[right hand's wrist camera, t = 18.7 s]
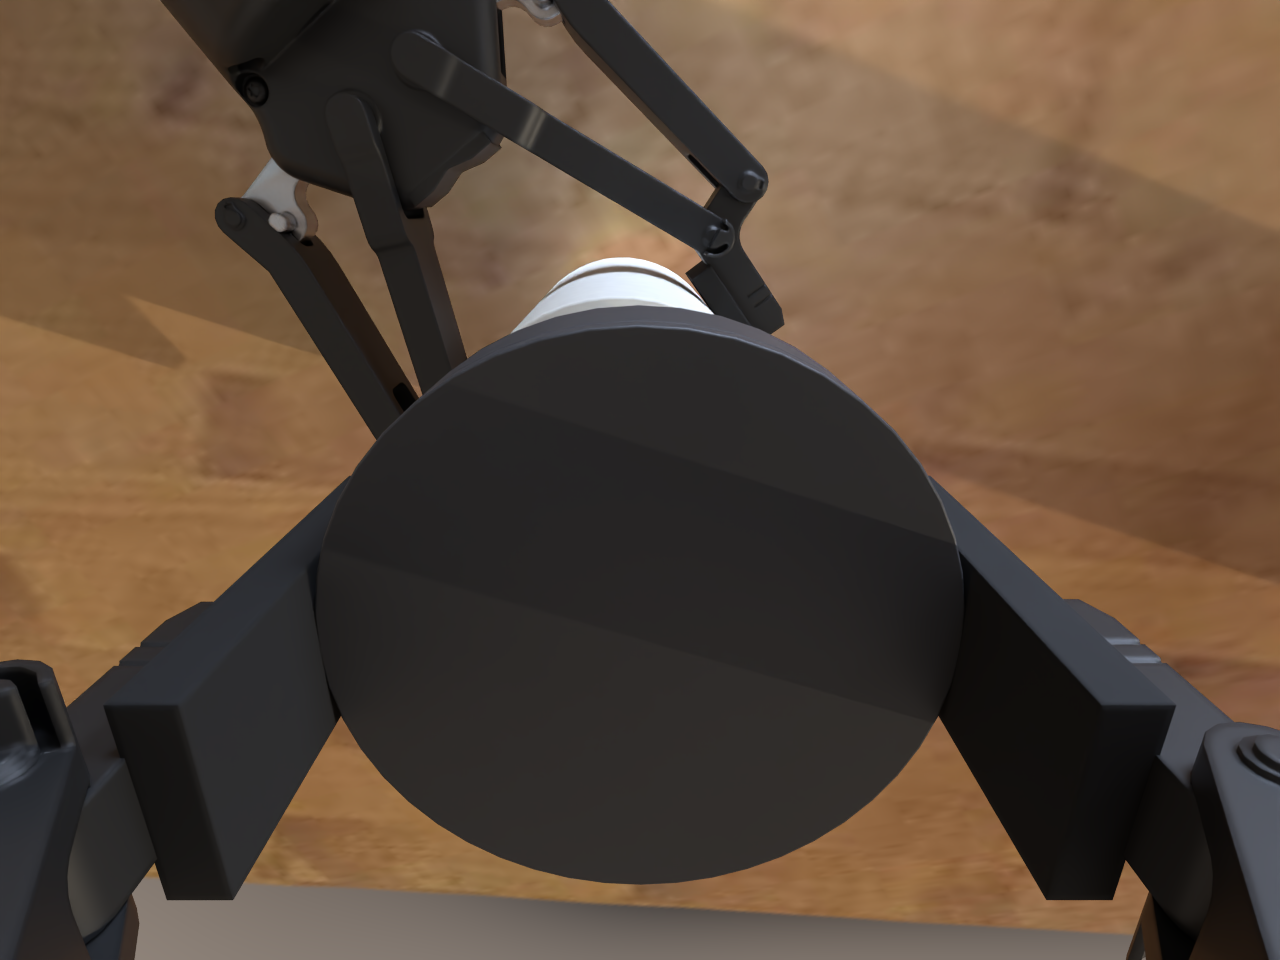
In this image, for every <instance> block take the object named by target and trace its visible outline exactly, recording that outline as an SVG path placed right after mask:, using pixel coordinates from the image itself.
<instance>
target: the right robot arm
mask: <svg viewBox="0 0 1280 960" xmlns="http://www.w3.org/2000/svg"><path fill="white" fill-rule="evenodd" d="M350 477H351V476H349V477H348V478H347V479H346V480H344V481H343V482H342V483H341V484H340V485H339V486H338V487H337V488H336V489H335V490H334V491H333V492H332V493H330V494H329V495H328V496H327V497H326V498H325V499H324V500H323V501H322V502H321V503H320V504H319V505H318V506H316V507H315V508H314V509H313V510H312V511H311V512H310V513H309V514H308V515H307V516H306V517H305V518H304V519H303V520H301V521H300V522H299V523H298V524H297V525H296V526H295V527H294V528H293V529H292V530H291V531H290V532H289V533H287V534H286V535H285V536H284V537H283V538H282V539H281V540H280V541H279V542H278V543H277V544H276V545H275V546H273V547H272V548H271V549H270V550H269V551H268V552H267V553H266V554H265V555H264V556H263V557H262V558H261V559H259V560H258V561H257V562H256V563H255V564H254V565H253V566H252V567H251V568H250V569H249V570H248V571H247V572H246V573H244V574H243V575H242V576H241V577H240V578H239V579H238V580H237V581H236V582H235V583H234V584H233V585H232V586H230V587H229V588H228V589H227V590H226V591H225V592H224V593H223V594H222V595H221V596H220V597H219V598H218V599H216V600H215V601H214V602H200V603H198V604H196V605H194V606H192V607H190V608H189V609H187V610H185V611H183V612H181V613H179V614H177V615H175V616H174V617H172V618H170V619H168V620H166V621H165V622H164V623H163V624H161V625H160V626H159V627H158V628H157V629H156V630H155V631H153V632H152V633H151V634H150V635H149V636H148V637H147V638H145V639H144V640H143V641H142V642H141V645H140V647H135V648H134V649H133V650H132V651H131V652H129V653H128V654H127V655H126V656H125V657H124V658H123V659H121V660H120V661H119V662H120V664H119V666H113V667H112V668H111V669H110V670H109V671H108V672H107V673H105V674H104V675H103V676H102V677H101V678H100V679H99V680H97V681H96V682H95V683H94V684H93V685H92V686H91V687H89V688H88V689H87V690H86V691H85V692H84V693H83V694H81V695H80V696H79V697H78V698H77V699H76V700H75V701H73V702H72V703H71V704H70V705H69V706H68V707H67V708H66V706H65V703H64V700H63V697H62V694H61V692H60V689H59V686H58V683H57V680H56V677H55V674H54V672H53V669H52V668H51V667H49V666H48V665H46V664H44V663H42V662H41V661H32V660H18V659H17V660H10V661H3V662H0V960H134V958H135V951H136V943H137V936H138V929H139V919H138V913H137V908H136V905H135V902H134V899H133V896H132V892H133V891H134V890H135V888H136V887H137V886H138V884H139V883H140V882H141V880H142V879H143V878H144V876H145V875H146V874H147V872H148V871H149V870H150V868H151V867H152V865H153V864H154V863H155V865H156V868H157V871H158V874H159V877H160V880H161V883H162V886H163V889H164V893H165V895H166V899H167V900H233V899H234V897H235V896H236V894H237V892H238V891H239V889H240V887H241V886H242V884H243V882H244V880H245V879H246V877H247V875H248V874H249V872H250V870H251V869H252V867H253V865H254V863H255V862H256V860H257V858H258V857H259V855H260V853H261V851H262V850H263V848H264V846H265V845H266V843H267V841H268V840H269V838H270V836H271V834H272V833H273V831H274V829H275V828H276V826H277V824H278V822H279V821H280V819H281V817H282V816H283V814H284V812H285V810H286V809H287V807H288V805H289V804H290V802H291V800H292V799H293V797H294V795H295V793H296V792H297V790H298V788H299V787H300V785H301V783H302V781H303V780H304V778H305V776H306V775H307V773H308V771H309V770H310V768H311V766H312V764H313V763H314V761H315V759H316V758H317V756H318V754H319V752H320V751H321V749H322V747H323V746H324V744H325V742H326V740H327V739H328V737H329V735H330V734H331V732H332V730H333V729H334V727H335V725H336V723H337V722H338V720H339V718H340V717H341V714H340V711H339V709H338V707H337V705H336V702H335V700H334V698H333V695H332V693H331V691H330V688H329V686H328V682H327V679H326V675H325V670H324V665H323V661H322V656H321V651H320V645H319V639H318V634H317V628H316V621H315V593H316V575H317V569H318V564H319V559H320V554H321V549H322V544H323V539H324V536H325V533H326V531H327V528H328V525H329V522H330V520H331V517H332V514H333V511H334V509H335V506H336V503H337V501H338V499H339V497H340V495H341V494H342V492H343V490H344V488H345V486H346V485H347V483H348V481H349V479H350ZM928 477H929V479H930V480H931V482H932V484H933V486H934V487H935V489H936V491H937V493H938V494H939V496H940V498H941V500H942V502H943V505H944V508H945V510H946V513H947V516H948V518H949V521H950V524H951V526H952V529H953V532H954V534H955V538H956V542H957V547H958V552H959V557H960V562H961V567H962V572H963V585H964V606H965V615H964V624H963V630H962V636H961V642H960V648H959V653H958V658H957V663H956V668H955V673H954V677H953V681H952V684H951V687H950V689H949V691H948V694H947V696H946V698H945V701H944V703H943V706H942V708H941V710H940V713H939V715H938V716H939V717H940V719H941V721H942V722H943V724H944V726H945V728H946V729H947V731H948V733H949V734H950V736H951V738H952V740H953V741H954V743H955V745H956V746H957V748H958V750H959V752H960V753H961V755H962V757H963V758H964V760H965V762H966V763H967V765H968V767H969V769H970V770H971V772H972V774H973V775H974V777H975V779H976V781H977V782H978V784H979V786H980V787H981V789H982V791H983V792H984V794H985V796H986V798H987V799H988V801H989V803H990V804H991V806H992V808H993V810H994V811H995V813H996V815H997V816H998V818H999V820H1000V822H1001V823H1002V825H1003V827H1004V828H1005V830H1006V832H1007V833H1008V835H1009V837H1010V839H1011V840H1012V842H1013V844H1014V845H1015V847H1016V849H1017V851H1018V852H1019V854H1020V856H1021V857H1022V859H1023V861H1024V862H1025V864H1026V866H1027V868H1028V869H1029V871H1030V873H1031V874H1032V876H1033V878H1034V880H1035V881H1036V883H1037V885H1038V886H1039V888H1040V890H1041V892H1042V893H1043V895H1044V897H1045V898H1046V900H1113V897H1114V894H1115V891H1116V888H1117V885H1118V882H1119V879H1120V876H1121V873H1122V870H1123V867H1124V863H1125V860H1126V861H1127V862H1128V864H1129V865H1130V866H1131V868H1132V869H1133V870H1134V872H1135V873H1136V874H1137V876H1138V877H1139V878H1140V880H1141V881H1142V882H1143V884H1144V885H1145V886H1146V888H1147V889H1148V890H1149V893H1148V896H1147V899H1146V902H1145V905H1144V908H1143V910H1142V913H1141V916H1140V919H1139V922H1138V925H1137V927H1136V930H1135V933H1134V936H1133V939H1132V942H1131V945H1130V947H1129V950H1128V953H1127V957H1126V960H1142V958H1144V957H1146V960H1280V731H1279V730H1276V729H1273V728H1270V727H1267V726H1261V725H1255V724H1248V723H1242V722H1233V721H1232V720H1231V719H1230V718H1229V717H1228V716H1227V715H1225V714H1224V713H1223V712H1222V711H1221V710H1220V709H1218V708H1217V707H1216V706H1215V705H1214V704H1213V703H1212V702H1210V701H1209V700H1208V699H1207V698H1206V697H1205V696H1203V695H1202V694H1201V693H1200V692H1199V691H1198V690H1197V689H1195V688H1194V687H1193V686H1192V685H1191V684H1190V683H1189V682H1187V681H1186V680H1185V679H1184V678H1183V677H1182V676H1180V675H1179V674H1178V673H1177V672H1176V671H1175V670H1174V669H1172V668H1171V667H1170V666H1169V665H1168V664H1167V663H1161V658H1160V657H1159V656H1157V655H1156V654H1155V653H1154V652H1153V651H1152V650H1151V649H1149V648H1148V647H1147V646H1146V645H1145V644H1140V642H1139V641H1140V640H1139V639H1138V638H1137V637H1136V636H1134V635H1133V634H1132V633H1131V632H1130V631H1129V630H1127V629H1126V628H1125V627H1124V626H1123V625H1122V624H1121V623H1119V622H1118V621H1117V620H1116V619H1115V618H1113V617H1111V616H1109V615H1108V614H1106V613H1104V612H1102V611H1100V610H1098V609H1096V608H1094V607H1092V606H1091V605H1089V604H1087V603H1085V602H1083V601H1081V600H1079V599H1062V598H1061V597H1060V596H1059V595H1058V594H1057V593H1055V592H1054V591H1053V590H1052V589H1051V588H1050V587H1049V586H1048V585H1047V584H1046V583H1045V582H1044V581H1043V580H1042V579H1040V578H1039V577H1038V576H1037V575H1036V574H1035V573H1034V572H1033V571H1032V570H1031V569H1030V568H1029V567H1028V566H1026V565H1025V564H1024V563H1023V562H1022V561H1021V560H1020V559H1019V558H1018V557H1017V556H1016V555H1015V554H1014V553H1012V552H1011V551H1010V550H1009V549H1008V548H1007V547H1006V546H1005V545H1004V544H1003V543H1002V542H1001V541H1000V540H999V539H997V538H996V537H995V536H994V535H993V534H992V533H991V532H990V531H989V530H988V529H987V528H986V527H985V526H983V525H982V524H981V523H980V522H979V521H978V520H977V519H976V518H975V517H974V516H973V515H972V514H971V513H969V512H968V511H967V510H966V509H965V508H964V507H963V506H962V505H961V504H960V503H959V502H958V501H957V500H956V499H954V498H953V497H952V496H951V495H950V494H949V493H948V492H947V491H946V490H945V489H944V488H943V487H942V486H940V485H939V484H938V483H937V482H936V481H935V480H934V479H933V478H932V477H931V476H928Z"/></svg>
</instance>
